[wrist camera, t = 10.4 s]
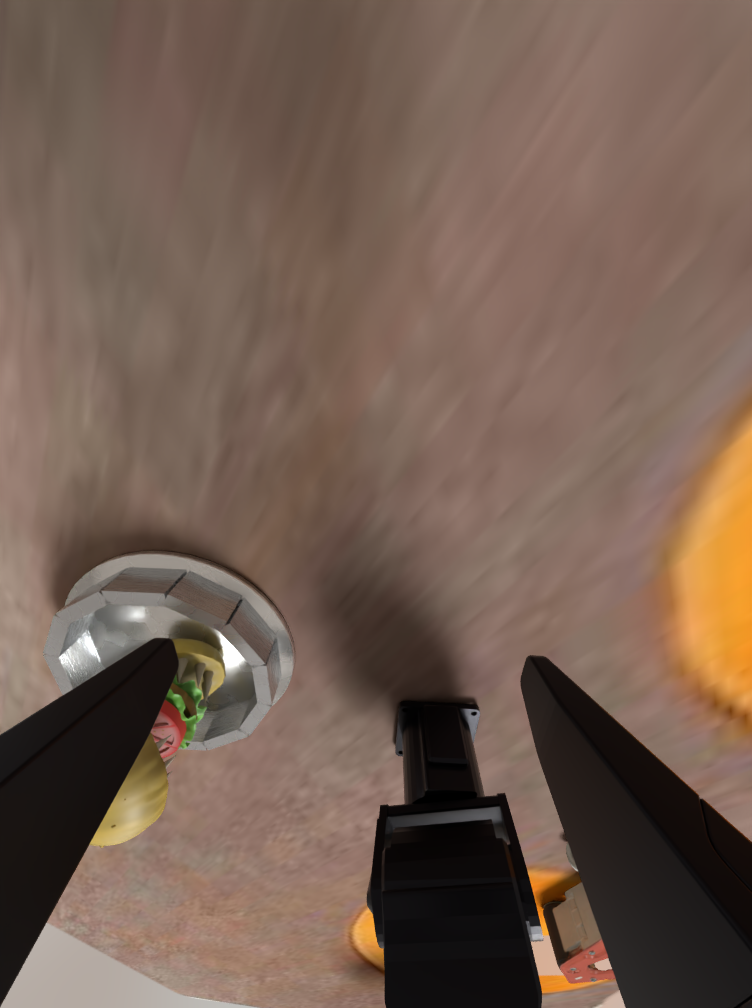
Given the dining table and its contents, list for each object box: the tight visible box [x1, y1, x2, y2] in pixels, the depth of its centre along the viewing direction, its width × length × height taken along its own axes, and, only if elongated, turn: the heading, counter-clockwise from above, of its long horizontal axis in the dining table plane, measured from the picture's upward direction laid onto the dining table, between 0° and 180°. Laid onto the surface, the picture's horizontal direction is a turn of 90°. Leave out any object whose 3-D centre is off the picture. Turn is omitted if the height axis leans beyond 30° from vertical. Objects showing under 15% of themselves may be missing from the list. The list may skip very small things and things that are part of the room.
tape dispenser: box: [543, 843, 616, 983], centre depth 38 cm, size 18×5×20 cm
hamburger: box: [89, 639, 226, 848], centre depth 21 cm, size 8×7×12 cm
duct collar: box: [43, 551, 295, 750], centre depth 25 cm, size 17×17×3 cm
